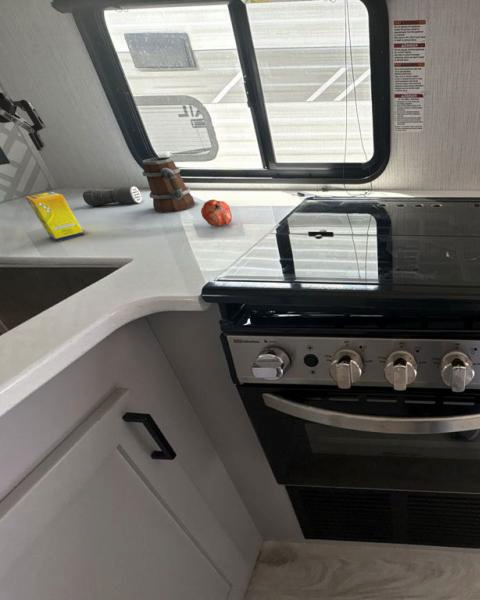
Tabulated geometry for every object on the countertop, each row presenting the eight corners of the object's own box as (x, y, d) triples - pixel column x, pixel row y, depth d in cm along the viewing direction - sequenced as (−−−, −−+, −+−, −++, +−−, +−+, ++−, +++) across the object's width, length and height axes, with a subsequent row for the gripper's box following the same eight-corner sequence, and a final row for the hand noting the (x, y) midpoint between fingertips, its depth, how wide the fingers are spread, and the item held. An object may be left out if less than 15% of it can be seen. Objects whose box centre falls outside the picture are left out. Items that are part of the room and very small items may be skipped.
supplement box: (49, 237, 88) (23, 196, 82) (77, 230, 93) (54, 191, 87) (57, 242, 86) (30, 199, 80) (85, 234, 90) (62, 193, 84)
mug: (150, 208, 110) (129, 160, 102) (188, 200, 117) (172, 154, 109) (166, 217, 101) (144, 165, 93) (206, 208, 108) (190, 159, 100)
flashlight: (86, 208, 111) (77, 192, 108) (95, 204, 116) (87, 188, 113) (136, 204, 114) (129, 188, 111) (143, 200, 118) (136, 184, 115)
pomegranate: (205, 233, 95) (202, 220, 86) (200, 209, 95) (196, 193, 86) (234, 231, 98) (233, 218, 89) (228, 207, 99) (228, 192, 90)
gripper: (19, 69, 75) (60, 147, 83) (-71, 69, 69) (-17, 153, 78) (6, 67, 69) (51, 151, 78) (-94, 67, 63) (-33, 157, 72)
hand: (17, 152), depth 78 cm, fingers open, 8 cm apart
